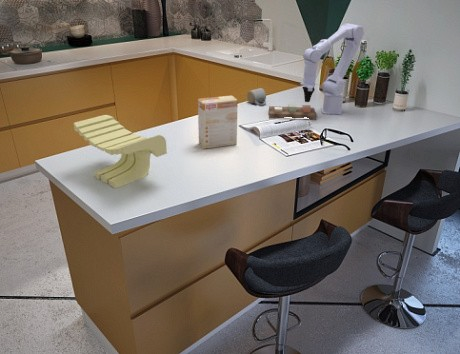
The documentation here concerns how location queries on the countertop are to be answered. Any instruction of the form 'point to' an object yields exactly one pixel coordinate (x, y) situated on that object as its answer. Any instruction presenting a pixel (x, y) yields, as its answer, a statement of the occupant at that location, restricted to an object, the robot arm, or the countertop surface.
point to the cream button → (278, 109)
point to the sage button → (292, 108)
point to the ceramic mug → (257, 96)
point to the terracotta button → (306, 108)
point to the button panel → (291, 113)
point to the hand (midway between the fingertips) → (307, 101)
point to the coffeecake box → (217, 121)
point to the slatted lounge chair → (120, 149)
